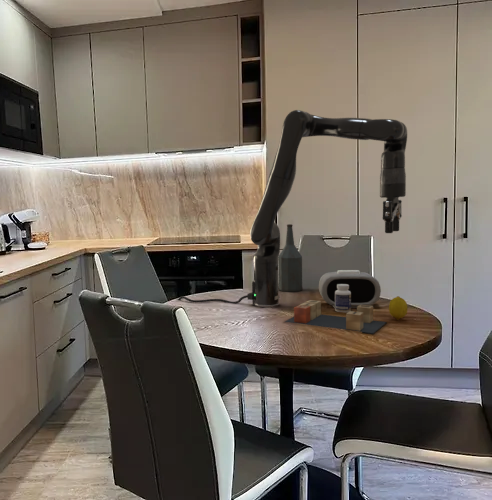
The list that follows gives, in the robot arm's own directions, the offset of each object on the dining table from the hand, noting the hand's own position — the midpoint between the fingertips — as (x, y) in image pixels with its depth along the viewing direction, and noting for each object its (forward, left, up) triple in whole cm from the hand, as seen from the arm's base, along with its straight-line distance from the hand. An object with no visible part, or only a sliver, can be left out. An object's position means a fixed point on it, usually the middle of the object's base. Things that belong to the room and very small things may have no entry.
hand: (392, 232), depth 160 cm
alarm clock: (-18, +14, -30) cm, 37 cm away
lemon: (+2, 0, -30) cm, 30 cm away
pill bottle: (-17, +4, -30) cm, 34 cm away
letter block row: (-6, -14, -29) cm, 33 cm away
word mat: (-14, -14, -29) cm, 35 cm away
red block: (-23, -19, -29) cm, 42 cm away
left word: (-23, -12, -29) cm, 39 cm away
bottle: (-50, +34, -30) cm, 67 cm away
